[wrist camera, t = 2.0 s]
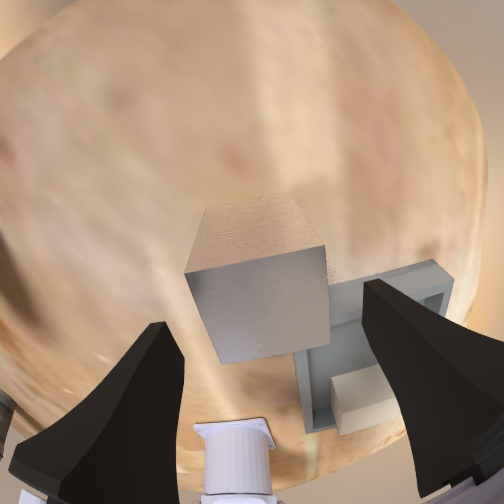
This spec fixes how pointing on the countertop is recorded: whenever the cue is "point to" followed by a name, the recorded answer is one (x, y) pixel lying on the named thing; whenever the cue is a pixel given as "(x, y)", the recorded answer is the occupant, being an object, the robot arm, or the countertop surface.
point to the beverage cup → (5, 417)
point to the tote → (358, 335)
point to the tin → (260, 279)
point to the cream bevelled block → (362, 400)
